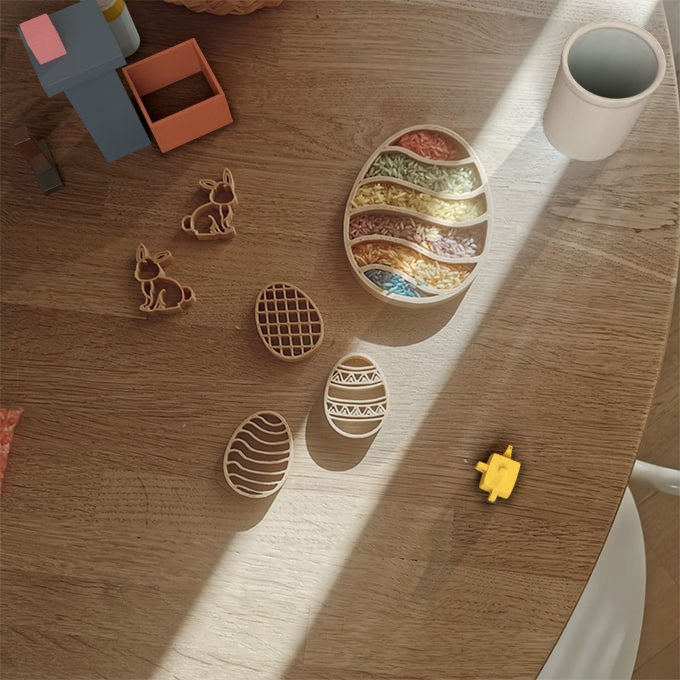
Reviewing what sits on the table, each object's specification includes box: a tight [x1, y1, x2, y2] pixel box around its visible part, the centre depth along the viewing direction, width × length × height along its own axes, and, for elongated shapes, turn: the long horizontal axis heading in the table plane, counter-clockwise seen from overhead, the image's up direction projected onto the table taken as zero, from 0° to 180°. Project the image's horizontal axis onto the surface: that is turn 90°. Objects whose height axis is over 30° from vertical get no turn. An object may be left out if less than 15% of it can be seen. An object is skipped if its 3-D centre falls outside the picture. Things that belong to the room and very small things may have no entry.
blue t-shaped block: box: [16, 0, 152, 164], centre depth 116 cm, size 12×12×24 cm
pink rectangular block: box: [19, 13, 67, 64], centre depth 102 cm, size 4×4×4 cm
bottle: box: [79, 0, 141, 59], centre depth 127 cm, size 7×7×15 cm
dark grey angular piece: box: [8, 124, 66, 197], centre depth 120 cm, size 4×10×11 cm, turn 27°
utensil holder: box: [542, 18, 667, 162], centre depth 115 cm, size 15×15×18 cm
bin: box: [121, 37, 234, 154], centre depth 124 cm, size 13×13×8 cm
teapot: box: [474, 444, 521, 503], centre depth 102 cm, size 8×6×5 cm
